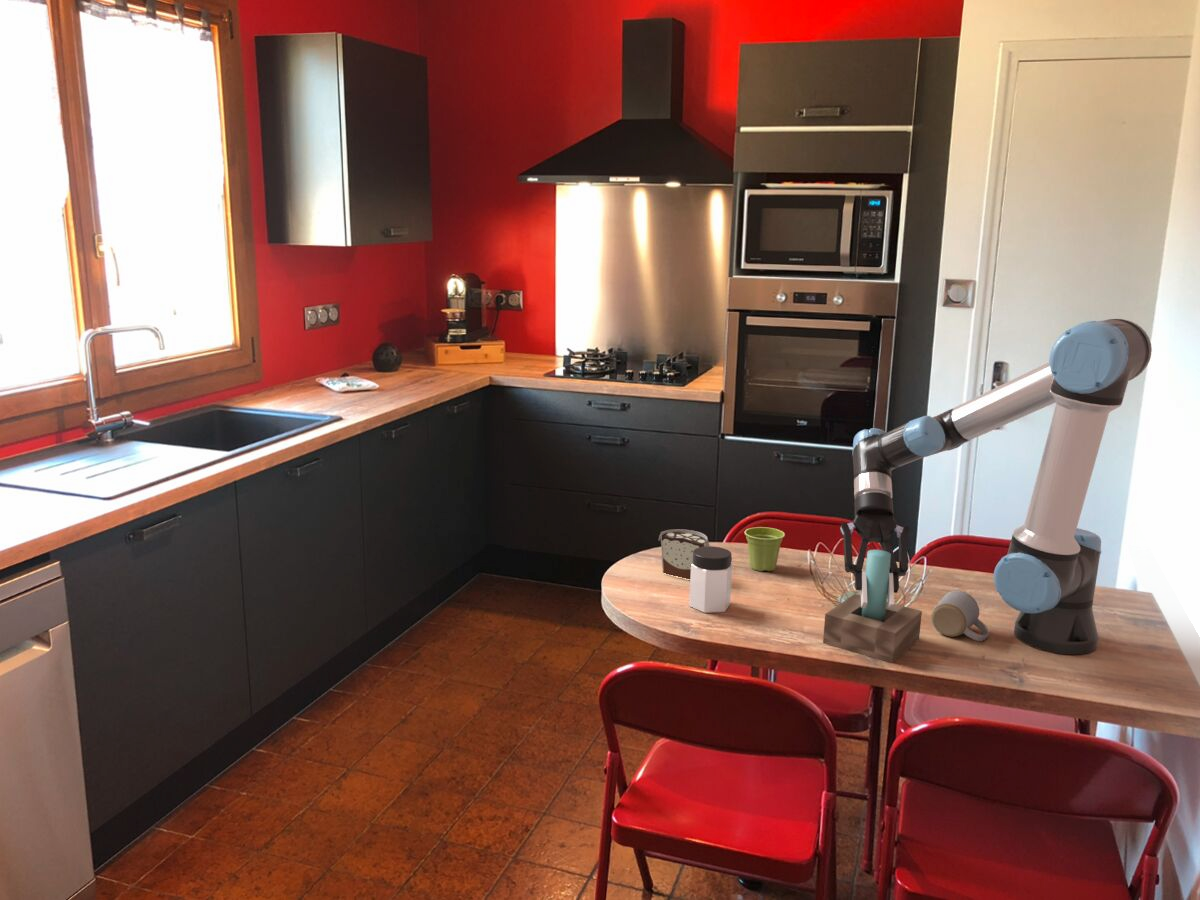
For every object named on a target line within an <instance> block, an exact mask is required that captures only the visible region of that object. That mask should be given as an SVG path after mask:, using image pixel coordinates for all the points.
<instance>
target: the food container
mask: <svg viewBox="0 0 1200 900" xmlns="http://www.w3.org/2000/svg"><path fill="white" fill-rule="evenodd" d="M658 541H660V545H661V546H660V547H661V548H660V549H661V564H662V565H661V567H662V574H663V573H666V574H669V575H673V576H678V577H682V578H686V579H690V576H691V565H692V563H693V551H694V550H695V549H696V548H699V547H706V546H710V542H709V539H708V536H707V535H706V534H704V533H703V532H700V531H696V530H692V529H691V530H690V529H682V528H681V529H667V530H664V531H661V532H660V534H659V536H658Z"/></svg>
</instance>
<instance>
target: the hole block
mask: <svg viewBox="0 0 1200 900" xmlns="http://www.w3.org/2000/svg"><path fill="white" fill-rule="evenodd" d="M922 615H923V611H922V610H919V609H915V608H911V607H907V606H904V605H899V604H895V603H894V607H893V609H892V610H888V601H887V602H886V612H885V622H881V621H877V620H874V619H870V618H866V617H862V608H861V594H857V593H854V594H853V595H850V597H847V598H846V599H845V600H843V601H842V602H841V603H839V604H838V605H836V606H835V607H833V608H832V609H831V610H829V611H827V612H826V613H825V614H824V626H823V636H822V637H823V638H822V639H823V640H822V644H826V645H829V646H833V647H835V648H840V649H842V650H843V649H844V650H846V651H847V650H848V651H850V652H853V653H857V654H860V655H864V656H867V657H871V658H874V659H877V660H881V661H885V662H887V663H891V664H893V663H894V662H895V661H896V660H898V659H899V658H900V657H901V656H902V655H904V653H906V652H907V651H908V650H907V649H910V648H911V647H912V646H914V645H915V644H916V643H917V642H918V641H919V640H920V634H921V624H922V623H921V622H922ZM917 640H918V641H917ZM916 641H917V642H916ZM915 642H916V643H915ZM906 650H907V651H906Z"/></svg>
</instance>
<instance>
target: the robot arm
mask: <svg viewBox="0 0 1200 900" xmlns="http://www.w3.org/2000/svg"><path fill="white" fill-rule="evenodd" d="M1152 352H1153V349H1152V343H1151V340H1150V337H1149V336H1148V334H1147V332H1146V331H1145V330H1144V329H1143V328H1142V327H1141V326H1140V325H1139V324H1137V323H1135V322H1133V321H1130V320H1127V319H1123V318H1109V319H1104V320H1098V321H1096V320H1090V321H1089V320H1088V321H1086V322H1081V323H1079V324H1076V325H1074V326H1073V327H1070V328H1069V329H1067V330H1065V332H1063V333H1062V334H1061V335H1059V336H1058V337H1057V339H1056V341H1055V342H1054V343H1053V346H1052V347H1051V350H1050V353H1049V359H1048V362H1047V363H1044V364H1042V365H1041V366H1038V367H1036V368H1034V369H1032V370H1030V371H1028V372H1025V373H1024V374H1021V375H1019V376H1017V377H1014V378H1013V379H1011V380H1009V381H1007V382H1004V383H1003V384H1000V385H998V386H996V387H994V388H992V389H991V390H988V391H986V392H984V393H982V394H980V395H977V396H976V397H973V398H972V399H969V400H967V401H965V402H962V404H959V405H957V406H955V407H953V408H950V409H948V410H946V411H944V412H942V413H940V414H938V415H936V416H930V415H923V416H921V417H917V418H914V419H912V420H909V421H908V422H906V423H904V424H902V425H901V426H898V427H896V428H894V429H892V430H890V431H888V432H887V431H885V430H883V429H880V428H877V427H874V428H873V427H872V428H870V429H866V428H864V429H862V430H860V431H858V432H857V433H856V434H855V435H854V437H853V443H852V452H851V453H852V455H851V456H852V460H853V488H854V490H853V491H854V492H853V495H854V496H853V497H854V502H853V503H854V504H853V505H854V519H853V521H852V522H848V523H847V522H842V523H841V525H840V529H839V532H840V534H841V535H842V539H843V555H844V556H843V557H844V559H843V561H844V571H845V572H846V573H851V574H853V577H854V589H855V590H856V591H860V595H861V608H865V607H866V605H867V578H866V570H864V571H863V567H864V563H865V559H866V558H865V557H866V555H867V551H868V550H867V549H868V546H869V545H868V544H869V543H874V542H875V543H876V544H877V543H878V544H879V545H880V548H881V549H882V550H883V551H887V552H889V553H890V554H891V560H890V571H889V581H888V591H887V602H888V610H892V609H893V607H894V604H895V593H898V591H899V588H900V581H899V578H900V577H905V576H906V575H907V572H908V571H909V560H908V559H909V558H908V556H909V555H908V553H909V551H908V536H909V532H910V531H911V528H910V526H907V525H905V526H904V527H903V526H900V525H898V524H897V521H896V520H895V518H894V504H893V503H894V501H893V483H892V471H893V470H894V469H897V468H900V467H902V466H904V465H907V464H910V463H913V462H915V461H917V460H920V459H924V458H926V457H930V456H934V455H937V454H939V453H943V452H946V451H951V450H955V449H957V448H960V447H961V446H962V445H964V444H965V443H967V442H969V441H972V440H974V439H976V438H978V437H981V436H983V435H986V434H987V433H989V432H992V431H994V430H996V429H998V428H1001V427H1004V426H1006V425H1007V424H1008V425H1009V424H1010V423H1012V422H1014V421H1017V420H1020V419H1021V418H1024V417H1026V416H1028V415H1031V414H1033V413H1035V412H1037V411H1040V410H1042V409H1044V408H1046V407H1049V406H1051V405H1053V404H1055V406H1054V411H1053V415H1052V418H1051V422H1050V426H1049V429H1048V434H1047V437H1046V441H1045V445H1044V448H1043V453H1042V456H1041V461H1040V463H1039V468H1038V471H1037V475H1036V480H1035V483H1034V486H1033V491H1032V495H1031V498H1030V502H1029V506H1028V510H1027V513H1026V516H1025V521H1024V524H1023V525H1021V526H1019V527H1016V528H1015V529H1014V530H1013V533H1012V536H1011V540H1010V543H1009V546H1008V550H1007V554H1006V555H1004V556H1002V557H1001V559H1000V560H999V561H998V562H997V564H996V566H995V568H994V571H993V583H994V587H995V589H996V592H997V593H998V594H999V596H1000V597H1001V599H1002V600H1003V601H1004V602H1005V603H1006V604H1007V605H1008V606H1010V608H1013V609H1014V610H1016V611H1018V612H1019V614H1018V615H1017V617H1016V619H1015V622H1014V629H1013V634H1014V635H1015V637H1016V638H1017V639H1018V640H1019V641H1021V642H1023V643H1024V644H1026V645H1028V646H1029V647H1033V648H1035V649H1039V650H1042V651H1045V652H1049V653H1053V654H1061V655H1085V654H1089V653H1092V652H1094V651H1096V650H1097V647H1098V640H1099V634H1098V630H1097V625H1096V620H1095V615H1094V612H1093V606H1094V598H1095V592H1096V585H1097V584H1096V583H1097V579H1098V578H1097V577H1098V572H1099V571H1098V570H1099V564H1100V559H1101V558H1100V557H1101V554H1102V550H1101V549H1102V539H1101V538H1100V536H1099V535H1098V534H1096V533H1095V532H1092V531H1090V530H1086V529H1082V528H1079V527H1078V525H1079V521H1080V517H1081V514H1082V511H1083V507H1084V503H1085V500H1086V496H1087V493H1088V490H1089V486H1090V482H1091V479H1092V475H1093V471H1094V468H1095V465H1096V461H1097V457H1098V454H1099V450H1100V447H1101V442H1102V439H1103V436H1104V434H1105V433H1104V432H1105V428H1106V425H1107V421H1108V418H1109V416H1110V415H1109V414H1110V413H1111V412H1112V411H1114V410H1116V409H1118V408H1120V407H1121V406H1122V405H1123V401H1124V397H1125V394H1126V390H1127V387H1128V383H1129V382H1130V381H1132V380H1134V379H1135V378H1137V377H1139V376H1140V374H1142V373H1143V372H1144V370H1146V369H1147V367H1148V365H1149V363H1150V360H1151V358H1152ZM854 531H855V532H856V533H857V534H858V535H859V536H860V538H861V541H860V544H859V545H860V546H859V550H858V555H857V558H856V562H855V563H856V564H854V563H853V562H854V560H853V542H852V541H853V540H852V534H853V532H854ZM894 532H895V533H896V537H897V539H898V564H897V560H896V556H895V553H894V550H893V546H892V544H891V543H892V542H891V538H890V537H891V536H892V534H893V533H894Z"/></svg>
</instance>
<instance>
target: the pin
mask: <svg viewBox="0 0 1200 900" xmlns="http://www.w3.org/2000/svg"><path fill="white" fill-rule="evenodd" d="M890 560H891V554H890V553H889V552H887V551H883V550H881V549H869V550H867V551H866V562H865V563H866V565H865V571H866V578H867V605H866V607H865V608H862V617H866V618H870V619H874V620H877V621H881V622H885V612H886V602H888V599H887V591H888V581H889V571H890Z"/></svg>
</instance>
